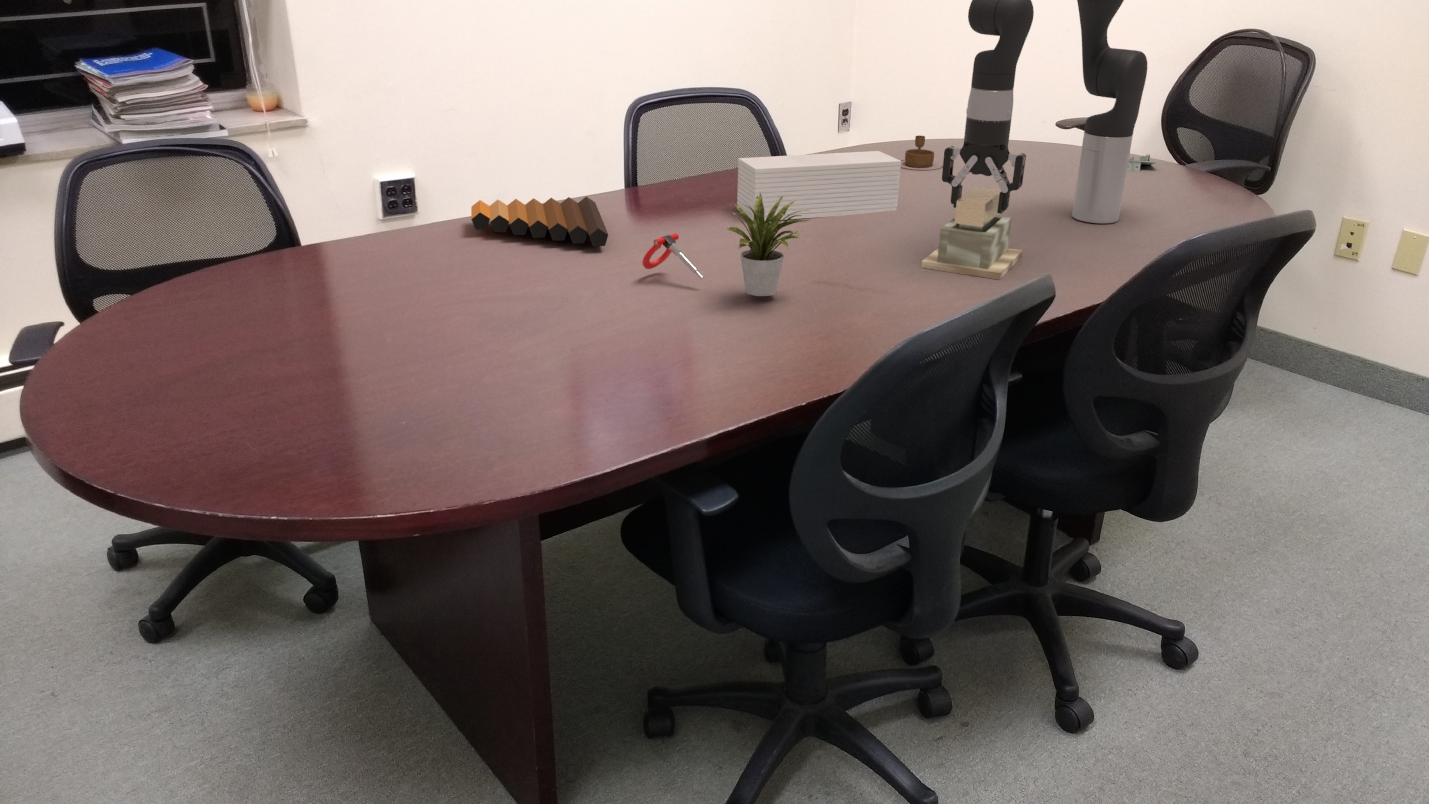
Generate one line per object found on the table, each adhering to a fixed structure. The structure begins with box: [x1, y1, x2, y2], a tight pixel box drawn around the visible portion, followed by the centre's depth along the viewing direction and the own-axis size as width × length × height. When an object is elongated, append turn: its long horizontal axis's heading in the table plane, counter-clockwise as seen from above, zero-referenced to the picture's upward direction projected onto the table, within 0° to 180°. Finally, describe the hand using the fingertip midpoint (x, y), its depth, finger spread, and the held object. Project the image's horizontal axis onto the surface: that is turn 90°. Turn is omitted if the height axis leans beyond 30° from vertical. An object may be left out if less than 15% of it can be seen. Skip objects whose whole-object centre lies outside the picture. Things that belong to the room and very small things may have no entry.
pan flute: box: [470, 196, 609, 247], centre depth 213 cm, size 25×3×25 cm
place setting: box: [900, 135, 943, 172], centre depth 272 cm, size 18×20×6 cm
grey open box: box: [920, 215, 1023, 281], centre depth 197 cm, size 16×14×7 cm
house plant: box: [727, 193, 810, 297], centre depth 177 cm, size 14×14×16 cm
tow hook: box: [641, 233, 704, 280], centre depth 189 cm, size 7×10×7 cm
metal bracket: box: [1127, 154, 1158, 173], centre depth 269 cm, size 14×6×15 cm
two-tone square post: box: [954, 186, 1001, 232], centre depth 196 cm, size 12×5×11 cm, turn 152°
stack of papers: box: [736, 150, 902, 222], centre depth 230 cm, size 32×11×11 cm, turn 108°
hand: (978, 209), depth 194 cm, fingers open, 7 cm apart
